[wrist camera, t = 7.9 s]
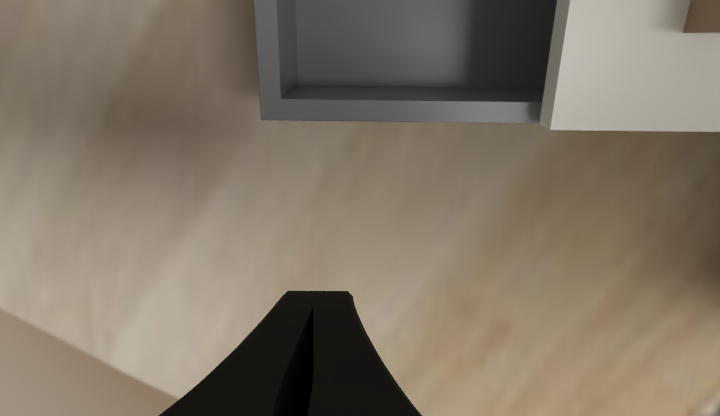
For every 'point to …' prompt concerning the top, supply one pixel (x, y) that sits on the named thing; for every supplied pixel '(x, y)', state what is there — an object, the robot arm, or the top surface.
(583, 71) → the lid
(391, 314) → the top surface
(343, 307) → the robot arm
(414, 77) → the storage box
